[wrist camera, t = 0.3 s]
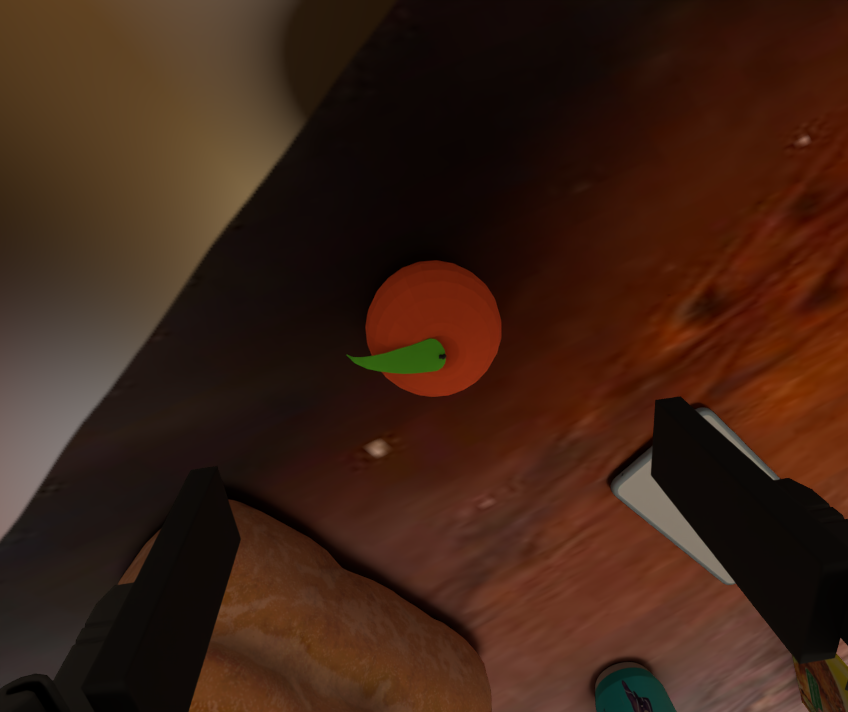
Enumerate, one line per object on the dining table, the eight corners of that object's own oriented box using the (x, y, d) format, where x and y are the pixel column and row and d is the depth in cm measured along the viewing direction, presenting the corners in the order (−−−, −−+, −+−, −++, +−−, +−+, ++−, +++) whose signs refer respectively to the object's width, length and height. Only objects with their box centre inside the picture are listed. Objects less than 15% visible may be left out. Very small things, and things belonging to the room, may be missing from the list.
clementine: (364, 377, 32) (362, 442, 26) (333, 266, 30) (322, 307, 23) (495, 348, 33) (526, 406, 26) (476, 234, 30) (507, 267, 23)
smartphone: (730, 590, 41) (608, 491, 36) (722, 579, 42) (602, 482, 37) (823, 520, 39) (708, 406, 34) (812, 511, 40) (699, 398, 35)
